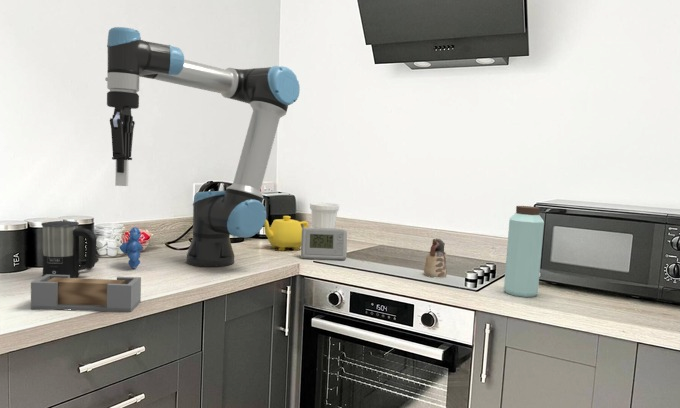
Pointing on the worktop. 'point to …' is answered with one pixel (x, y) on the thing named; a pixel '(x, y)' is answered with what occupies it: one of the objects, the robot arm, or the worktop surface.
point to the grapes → (133, 247)
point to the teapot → (285, 233)
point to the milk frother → (66, 248)
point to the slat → (83, 290)
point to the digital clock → (324, 244)
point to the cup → (324, 215)
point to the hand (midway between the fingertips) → (121, 185)
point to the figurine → (436, 260)
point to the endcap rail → (117, 301)
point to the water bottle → (524, 252)
